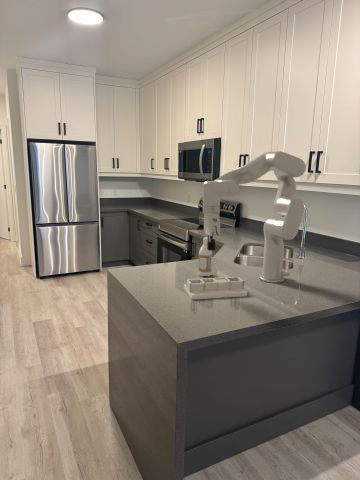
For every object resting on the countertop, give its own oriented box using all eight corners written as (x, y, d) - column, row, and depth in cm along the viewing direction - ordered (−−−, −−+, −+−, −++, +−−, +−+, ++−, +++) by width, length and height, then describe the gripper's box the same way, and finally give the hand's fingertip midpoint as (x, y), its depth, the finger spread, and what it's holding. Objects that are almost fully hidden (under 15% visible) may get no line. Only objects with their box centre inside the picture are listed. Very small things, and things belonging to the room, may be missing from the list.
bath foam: (196, 275, 171) (197, 238, 167) (201, 272, 177) (203, 236, 173) (208, 277, 168) (209, 239, 164) (213, 274, 173) (215, 237, 170)
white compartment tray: (234, 285, 156) (235, 274, 155) (246, 296, 143) (247, 283, 142) (184, 288, 151) (184, 276, 150) (191, 299, 138) (192, 286, 137)
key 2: (224, 282, 150) (224, 279, 149) (227, 285, 145) (227, 282, 145) (215, 283, 149) (215, 279, 148) (218, 286, 145) (218, 282, 144)
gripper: (225, 211, 137) (225, 253, 141) (213, 207, 152) (213, 245, 156) (208, 212, 136) (208, 254, 140) (198, 208, 150) (198, 246, 154)
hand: (211, 249), depth 148 cm, fingers closed
